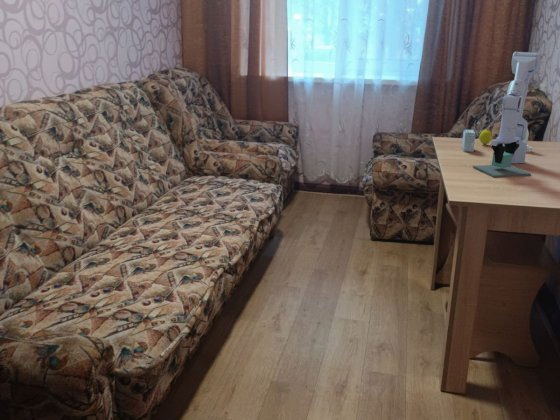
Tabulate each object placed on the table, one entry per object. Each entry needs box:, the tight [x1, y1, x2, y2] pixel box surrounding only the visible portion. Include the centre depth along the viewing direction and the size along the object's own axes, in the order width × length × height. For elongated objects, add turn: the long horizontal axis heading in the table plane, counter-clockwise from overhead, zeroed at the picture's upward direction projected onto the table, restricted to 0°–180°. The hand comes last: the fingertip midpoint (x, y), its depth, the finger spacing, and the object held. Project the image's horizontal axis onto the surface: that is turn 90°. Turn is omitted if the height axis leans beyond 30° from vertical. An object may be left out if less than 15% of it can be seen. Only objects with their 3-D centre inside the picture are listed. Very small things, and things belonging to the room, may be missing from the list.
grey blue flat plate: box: [472, 164, 532, 178], centre depth 209 cm, size 16×14×1 cm
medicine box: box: [461, 129, 476, 153], centre depth 242 cm, size 8×4×9 cm, turn 168°
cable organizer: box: [524, 128, 533, 153], centre depth 244 cm, size 5×10×10 cm, turn 90°
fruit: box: [478, 128, 493, 146], centre depth 253 cm, size 6×6×8 cm
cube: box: [491, 152, 513, 168], centre depth 208 cm, size 5×5×5 cm
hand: (502, 162), depth 208 cm, fingers closed on cube, 5 cm apart
